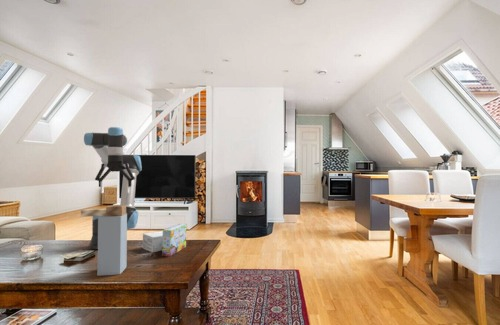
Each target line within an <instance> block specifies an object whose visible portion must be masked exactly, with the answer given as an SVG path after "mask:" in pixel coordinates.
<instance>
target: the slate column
mask: <svg viewBox="0 0 500 325" xmlns="http://www.w3.org/2000/svg"><path fill="white" fill-rule="evenodd" d="M127 236H128V229H127V213H126V214H125V215H123V216H107V217H106V216H100V217H98V250H97V267H96V268H97V270H96V271H97V272H96V273H97V274H96V276H99V277H100V276H114V275H121V274H122V273H123V271H124V270H125V269H126V268H127V261H128V260H127V255H128V253H127V252H128V251H127V250H128V248H127V247H128V246H127V244H128V237H127Z"/></svg>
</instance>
